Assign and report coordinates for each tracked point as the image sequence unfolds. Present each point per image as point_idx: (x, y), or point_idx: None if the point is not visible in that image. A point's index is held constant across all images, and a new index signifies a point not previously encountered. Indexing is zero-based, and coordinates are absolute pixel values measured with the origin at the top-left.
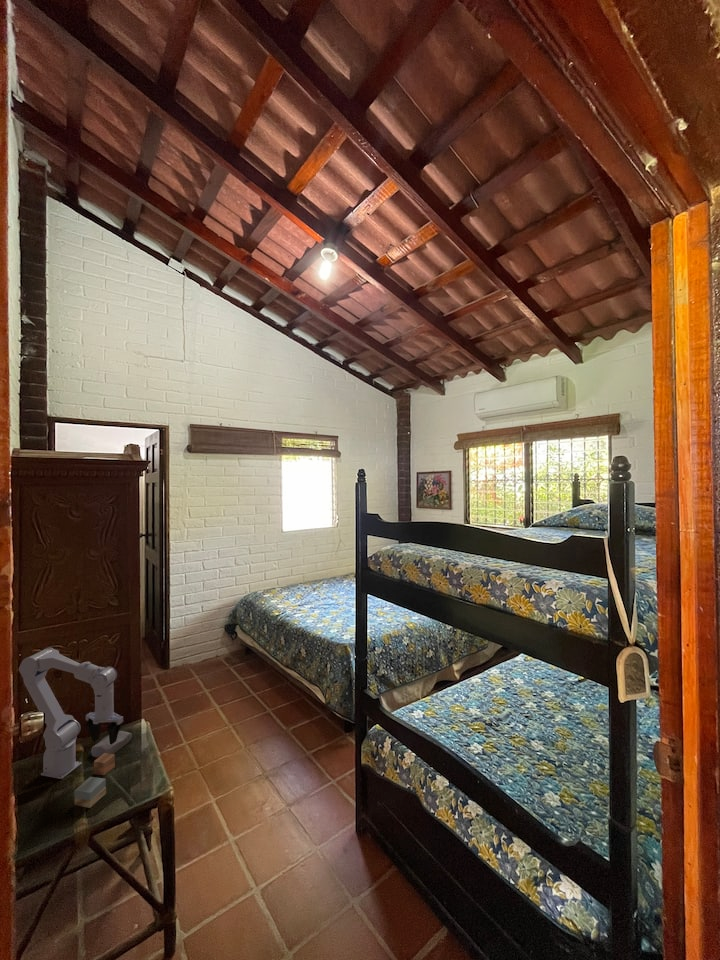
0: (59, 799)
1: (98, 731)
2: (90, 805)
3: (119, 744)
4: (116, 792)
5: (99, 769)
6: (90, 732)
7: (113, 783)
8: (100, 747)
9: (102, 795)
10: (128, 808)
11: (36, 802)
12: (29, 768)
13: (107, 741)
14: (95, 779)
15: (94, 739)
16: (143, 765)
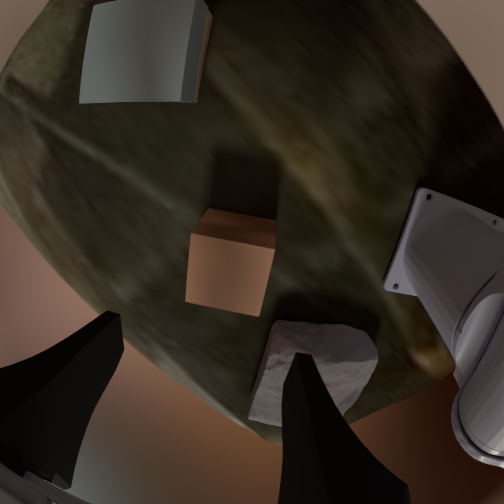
0: (327, 45)
1: (286, 432)
2: None
3: (259, 377)
4: (77, 113)
5: (235, 223)
6: (333, 424)
7: (123, 159)
8: (328, 358)
9: None
10: (9, 66)
11: (424, 45)
12: None
13: None
14: (129, 85)
15: (295, 368)
16: (87, 269)
